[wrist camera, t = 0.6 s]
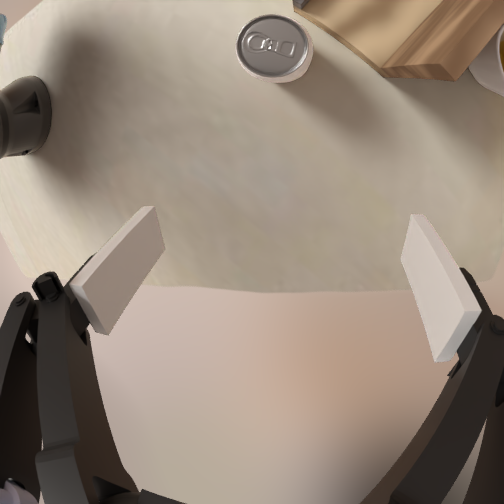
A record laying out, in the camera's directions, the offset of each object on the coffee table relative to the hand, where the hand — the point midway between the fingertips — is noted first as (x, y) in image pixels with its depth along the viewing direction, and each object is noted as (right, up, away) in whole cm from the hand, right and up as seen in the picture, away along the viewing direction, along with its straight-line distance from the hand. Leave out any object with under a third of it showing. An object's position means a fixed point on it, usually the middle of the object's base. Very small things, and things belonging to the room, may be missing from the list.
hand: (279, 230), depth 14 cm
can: (+2, +22, +13) cm, 25 cm away
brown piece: (+15, +30, +5) cm, 34 cm away
